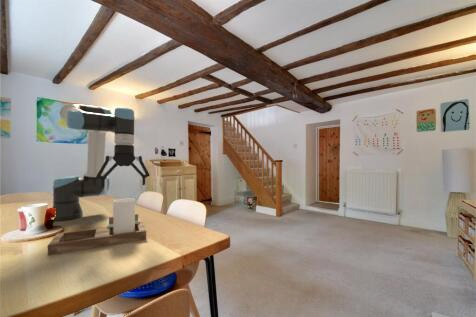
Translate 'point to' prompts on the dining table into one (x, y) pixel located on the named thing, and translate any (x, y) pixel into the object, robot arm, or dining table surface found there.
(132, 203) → the cup
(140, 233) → the board
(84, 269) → the dining table surface
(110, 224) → the lid
